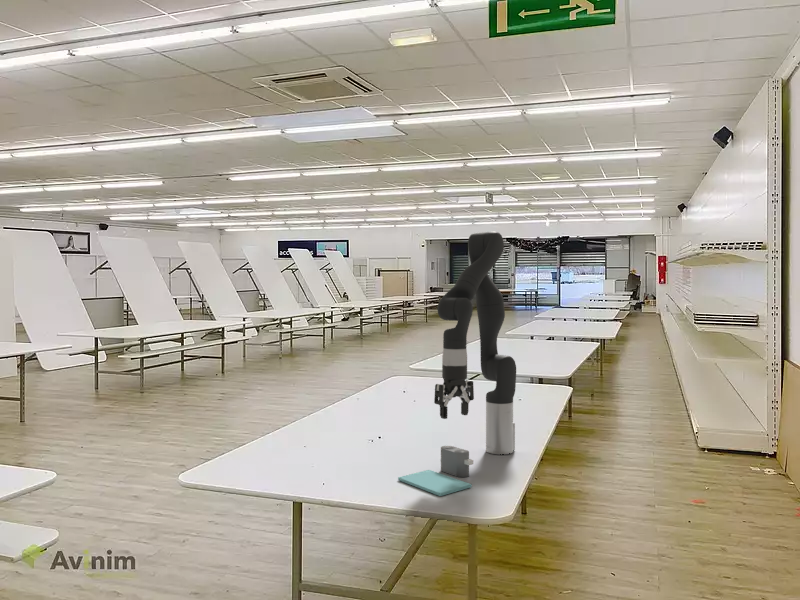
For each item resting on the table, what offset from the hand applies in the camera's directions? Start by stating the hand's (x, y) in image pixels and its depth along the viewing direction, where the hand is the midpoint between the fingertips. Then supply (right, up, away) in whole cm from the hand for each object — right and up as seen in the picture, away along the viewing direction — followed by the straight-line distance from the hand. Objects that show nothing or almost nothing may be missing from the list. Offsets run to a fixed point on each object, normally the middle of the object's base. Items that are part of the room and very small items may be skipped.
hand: (454, 416), depth 188 cm
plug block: (0, -17, 0) cm, 17 cm away
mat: (-7, -17, -10) cm, 21 cm away
